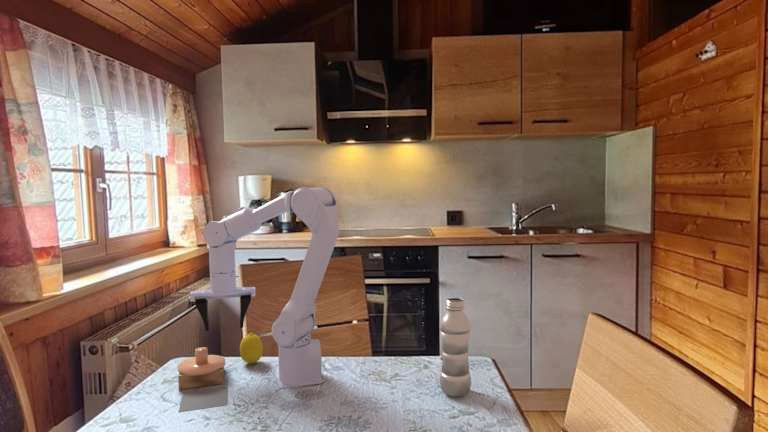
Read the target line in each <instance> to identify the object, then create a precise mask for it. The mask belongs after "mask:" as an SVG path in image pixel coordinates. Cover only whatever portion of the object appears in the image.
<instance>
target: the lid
mask: <svg viewBox="0 0 768 432" xmlns="http://www.w3.org/2000/svg"><path fill="white" fill-rule="evenodd" d="M194 351H195V352H194V353H195V354H194V355H195V356H192V357H189V358H186V359H184V360H182V361H181V362H180V363H178V364H177V372H178V374H179V373H180V374H183V375H191V376H194V375H204V374H208V373H212V372H215V371H217V370H220V369H221V368H223V367H224V368H225V366H226V358H225V357H222V356H223V355H218V354H217V355H216V354H209V350H208V347H207V346H203V347H197V348H195V350H194Z"/></svg>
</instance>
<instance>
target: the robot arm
mask: <svg viewBox="0 0 768 432" xmlns="http://www.w3.org/2000/svg"><path fill="white" fill-rule="evenodd" d="M338 206H339V202H338V200H337V199H336V197H335V195H334V193H333V191H332V190H330V189H329V188H327V187H324V186H320V187H319V186H318V187H306V186H305V187H298V188H297V189H296V190H290V191H288V192H286V193H284V194H282V195H280V196H279V197H277V198H275V199H273V200H270V201H269V202H266V203H264V204H263V205H261V206H259V207H257V208H255V209H254V208H253V207H250V206H249V207H246V206H241V207H238V208H237V211H236V212H235V213H232V214H230V215H226V214H225V215H224V216H222V217H221V218H222V219H221V220H220V221H219V220H218V221H217V220H216V221H215V220H211V221H209V222H208V223H207V224H206V225H205V226H204V227H203V230H202V237H203V240H204V242H205V243H206V244H207V245H208V257H209V258H208V260H209V281H210V282H209V286H210V288H209V289H208V288H207V289H203V290H195V291H190V293H189V302H195V303H194V304H195V305H194V306H195V308H196V310H197V311H198V313H199V315H200V317H201V319H202V321H203V325H204V329H205V332H209V331H210V320H209V309H208V308H209V307H208V306H209V303H208V301H209V300H219V299H230V298H231V299H232V298H239V305H240V308H239V310H240V314H239V315H240V316H239V328H241V329H242V328H244V323H245V317H246V315H247V311H248V309H249V306H250V304H251V301H252V297H256V287H255V286H249V287H248V286H238V287H237V280H236V249H237V242H238V240H240V239H241V238H244V237H246V236H248V235H250V234H252V233H255V232H257V231H259V230H260V229H261V226H262V223H263V222H266V221H268V220H271V219H274V218H276V217H279V216H280V215H283V214H286V213H288V214H289V213H290V214H291V213H292V214H293V213H294V214H295V216H297V218H298V219H299V220H301V221H302V222H303V223H304V224H305V225H306V227H308V230H309V232H310V233H311V239H310V241H309V245H308V248H307V250H306V253H305V254H304V255H305V256H304V259H303V262H302V265H301V267H300V270H299V273H298V276H297V278H296V279H297V280H296V282H295V285H294V288H293V291H292V293H291V296H290V299H289V301H288V302H287V304H285V306H284V307H283V309H282V310H280V311H281V312H280V314H279V316H278V317H277V319H276V320H274V321H273V323H272V325H271V331H270V332H271V336H272V338H273V340H274V341H275V342H276V345H277V348H278V349H277V350H278V352H277V353H278V372H277V373H276V374H275V376H276V382H277V385H278V389H281V390H282V389H288V388H289V389H290V388H295V387H307V386H312V385H313V386H314V385H319V384H323V374H322V372H323V369H322V366H323V365H322V364H323V363H322V348H321V342H320V339H318V338H316V339H315V338H314V339H313V338H311V337H312V336H311V335H312V334H311V333H312V332H313V331H314V329H315V328H316V312H317V307H316V305H315V301H316V299H317V296H318V294H319V291H320V288H321V285H322V282H323V279H324V276H325V275H326V271H327V268H328V267H329V263H330V260H331V257H332V254H333V251H334V249H335V246H336V244H337V243H336V242H337V241H338V238H339V235H340V226H339V225H340V224H339V216H338Z"/></svg>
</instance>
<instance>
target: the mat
mask: <svg viewBox="0 0 768 432" xmlns="http://www.w3.org/2000/svg"><path fill="white" fill-rule="evenodd" d="M228 391H229V386H228V385H227V386H220V387H214V388H206V389H199V390H198V389H197V390H191V391H185V392H182V396H181V400H180V404H179V408H178V413H182V412H183V413H185V412H189V411H190V412H192V411H197V410H202V409H204V410H205V409H210V408H215V407H216V408H217V407H223V406H228V398H229V392H228Z"/></svg>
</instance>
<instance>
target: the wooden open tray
mask: <svg viewBox="0 0 768 432" xmlns="http://www.w3.org/2000/svg"><path fill="white" fill-rule="evenodd" d="M221 356H222V357H224V356H223V355H221ZM224 358H225V357H224ZM224 375H225V366H224V367H223V368H221V369H220V370H217V371H215V372H212V373H208V374H204V375H194V376H191V375H183V374H180V373H179V372H178V376H177V377H178V378H177V379H178V391H185V390H192V389H199V388H200V389H201V388H205V387H206V388H207V387H208V388H209V387H213V386H214V387H215V386H222V385H224Z"/></svg>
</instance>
